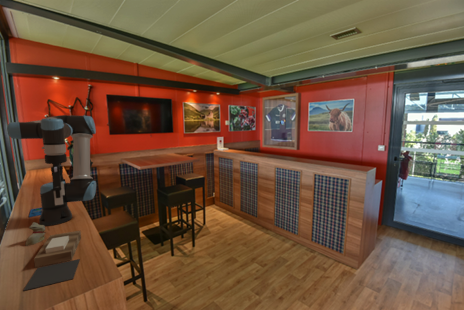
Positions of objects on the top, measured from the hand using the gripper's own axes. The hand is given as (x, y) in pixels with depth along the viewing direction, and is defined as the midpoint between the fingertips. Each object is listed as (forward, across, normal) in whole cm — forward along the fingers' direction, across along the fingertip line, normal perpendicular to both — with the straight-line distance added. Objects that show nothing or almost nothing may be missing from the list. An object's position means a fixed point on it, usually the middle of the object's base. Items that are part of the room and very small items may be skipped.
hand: (60, 199), depth 98 cm
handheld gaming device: (+25, -59, -16) cm, 66 cm away
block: (+19, +7, -2) cm, 20 cm away
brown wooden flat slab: (+23, +4, -1) cm, 23 cm away
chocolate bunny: (+23, -12, -12) cm, 29 cm away
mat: (+22, +22, -2) cm, 31 cm away
